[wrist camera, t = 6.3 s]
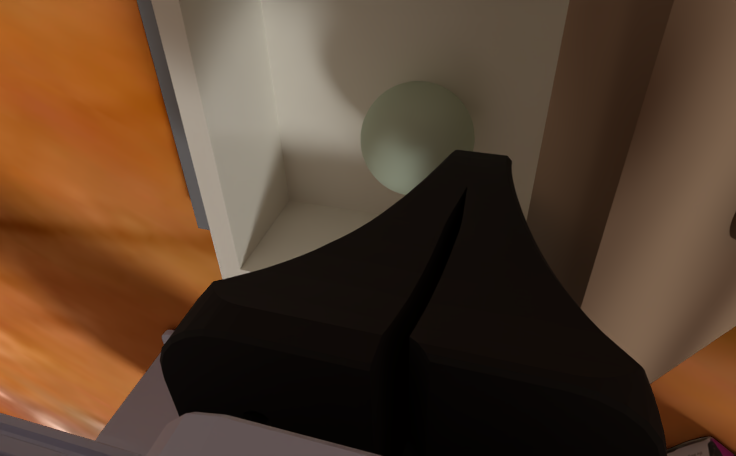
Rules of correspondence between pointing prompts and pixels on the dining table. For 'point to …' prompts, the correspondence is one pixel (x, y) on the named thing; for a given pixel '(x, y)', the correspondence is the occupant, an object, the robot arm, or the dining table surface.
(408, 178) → the ball
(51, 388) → the dining table surface
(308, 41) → the open grey box
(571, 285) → the lid
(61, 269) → the dining table surface
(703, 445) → the candy bar box
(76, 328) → the dining table surface
